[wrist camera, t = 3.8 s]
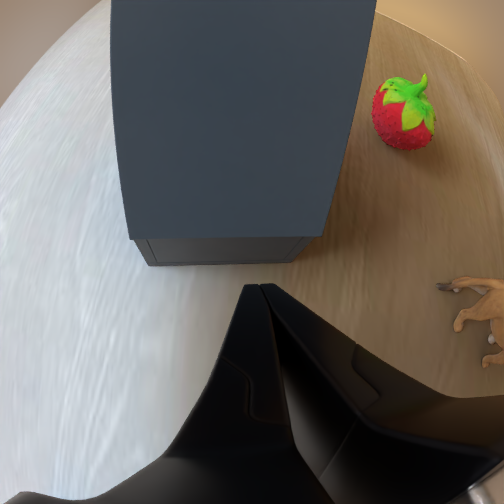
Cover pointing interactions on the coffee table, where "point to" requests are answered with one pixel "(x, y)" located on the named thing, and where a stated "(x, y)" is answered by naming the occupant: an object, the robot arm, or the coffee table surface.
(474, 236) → the coffee table surface
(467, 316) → the lion figurine
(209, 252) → the chest
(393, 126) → the strawberry
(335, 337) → the robot arm
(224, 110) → the lid
